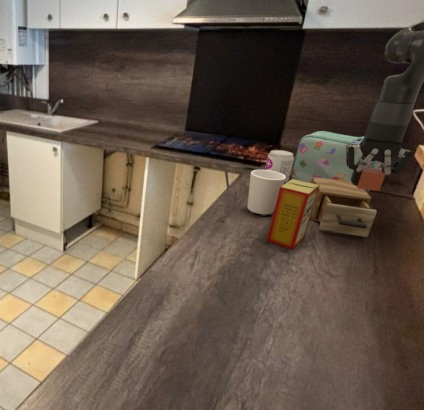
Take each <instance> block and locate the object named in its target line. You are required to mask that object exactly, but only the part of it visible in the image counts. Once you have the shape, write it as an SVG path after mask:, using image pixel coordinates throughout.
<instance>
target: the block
mask: <svg viewBox="0 0 424 410" xmlns="http://www.w3.org/2000/svg"><path fill="white" fill-rule="evenodd" d="M361 173H362V174H361V176H360V179H359V182H358V185H357V188H358V189H366V190H370V191H375V192H380V190H381V189H382V188H381V185H382V182H383V180H384V177H385V173H384V172H382V171H381V170H380V169H374V168H363V170H362V171H361Z"/></svg>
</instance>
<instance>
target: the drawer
mask: <svg viewBox="0 0 424 410" xmlns="http://www.w3.org/2000/svg"><path fill="white" fill-rule="evenodd" d="M377 213H378V212H377V210H376V209H372V208H371V207H370V205H369V206H368V204H367V203H366V202H365V201H364V200H362V199H355V198H347V197H340V196H332V195H325V194H323V196H322V199H321V202H320V205H319V209H318V212H317V217H318V219H319V221H320V222H319V226H318V228H319V230H320V231H329V232H334V233H341V234H347V235H352V236H359V237H364V238H368V236H369V234H370V231H371V229H372V226H373V224H374V221H375V218H376V215H377Z"/></svg>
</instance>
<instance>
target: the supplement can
mask: <svg viewBox="0 0 424 410" xmlns="http://www.w3.org/2000/svg"><path fill="white" fill-rule="evenodd" d="M265 161H266V162H265V165H264V166H265V167H264V170H271V171H276V172H279V173H281V174H283V175H285V176H286V179H285V182H284V184H286V183H287V182H289V181H290V175H291V173H292V169H293V165H294V161H295V157H294V153H293V152H290V151H287V150H281V149H272V150H270V152H269V153H268V154H267V157H266V160H265Z"/></svg>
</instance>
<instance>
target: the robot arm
mask: <svg viewBox="0 0 424 410" xmlns="http://www.w3.org/2000/svg"><path fill="white" fill-rule="evenodd" d="M383 55H384V59H385V60H386V61H387V62H388V63H390V64H394V65H409V67H407V69H406V70H405V71H404V72H403V73H401V74H394V75H389V76H387V77H386V78H385V79H384V80H383V83H382V84H381V85H382V86H381V87H380V90H379V91H380V92H379V94H378V98H377V100H376V102H375V105H374V107H373V109H372V111H371V114H370V118H369V120H368V123H367V127H366V130H365V133H364V139H363V141H362V142H361V143H360V144H359V145H352V146H351V145H347V146H346V165H347V166H348V167H349V168H350V169H353V174H352V177H351V182H352V184H353V185H355V186H357V185H358V182H359V179H360V176H361V174H362V173H361V171H362V170H363V168H364V167H365V166H366V165H367V164H368V163H369V162H370V161H379V162H380V163H381V171H382V172H384V173H385V177H384V180H383V182H382V185H381V188H380V189H382V188H383V187H384V186H386V184H387V181H388V178H389V177H390V175H393V174H395V175H396V174H397V175H398V174H400V172H401V171H402V170H403V169H404V168H405V166H406V165H407V163H408V162H409V161H410V160H411V158H412V157H413V156H414V152H413V151H412V150H410V149H404V148H402V142H403V140H404V136H405V134H406V131H407V128H408V126H409V123H410V122H411V119H412V115H413V112H414V107H415V103H416V100H417V98H418V95H419V92H420V90H421V88H422V86H423V84H424V19H423V20H420V21H418V22H415V23H413V24H411V25H409V26H407V27H405V28H403V29H401V30H400V31H398V32H397V33H395V34H394V35H393V36H392V37H391V38H390V39H389V40H388V41H387V43H386V45H385V47H384V49H383ZM358 149H360V150H361V152H362V156H361V157H360V158H359V160H358V162H357V163H356V165H355V164H354V154H356V153H357V151H358ZM396 155H397V156H398V158H397V159H396V160H395V162H394V163H393V165H392V158H393V157H394V156H396Z"/></svg>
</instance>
